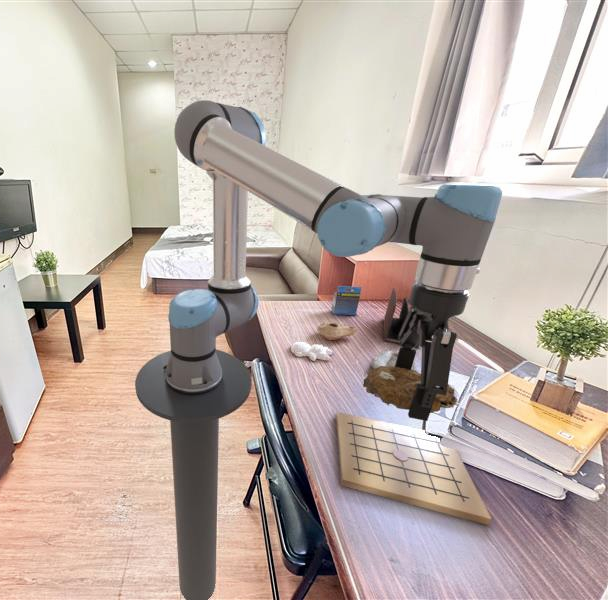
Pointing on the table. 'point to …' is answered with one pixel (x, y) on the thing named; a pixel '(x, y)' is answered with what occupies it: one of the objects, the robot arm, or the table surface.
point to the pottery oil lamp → (335, 330)
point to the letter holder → (394, 319)
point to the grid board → (406, 467)
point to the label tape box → (346, 301)
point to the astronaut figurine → (311, 351)
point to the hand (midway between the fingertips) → (408, 395)
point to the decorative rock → (402, 388)
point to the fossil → (386, 359)
